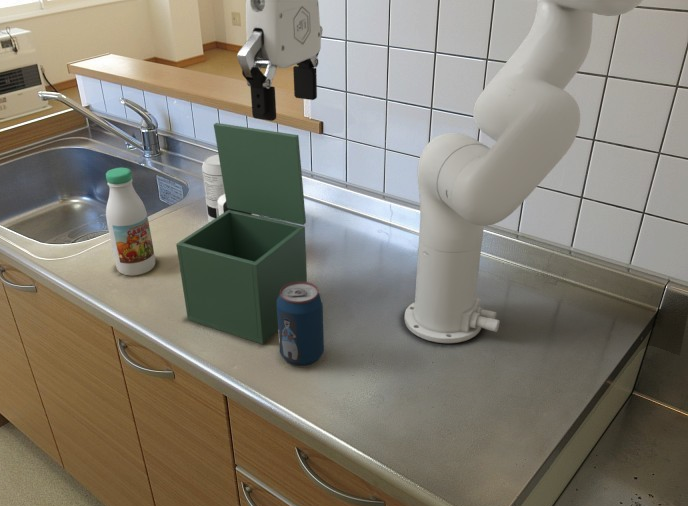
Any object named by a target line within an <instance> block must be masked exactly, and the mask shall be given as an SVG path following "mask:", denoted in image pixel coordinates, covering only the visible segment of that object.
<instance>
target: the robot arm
mask: <svg viewBox="0 0 688 506" xmlns="http://www.w3.org/2000/svg"><path fill="white" fill-rule="evenodd" d="M643 1H644V0H536V10H535V17H534V21H533V24H532V26H531V29H530V30H529V32H528V33H527V35H526V37H524V39H523V41H522V42H521V44H520V45H519V46H518V48H516V50H515V51H514V52H513V53H512V55H510V57H509V58H508V60H507V61H506V62H505V63H504V65H503V66H502V67H501V68H500V69H499V71H498V72H497V73H496V74H495V75H494V77H492V79H491V80H490V81H489V82H488V84H487V85H486V86H485V87H484V89H483V90H482V91H481V93H480V94H479V96H478V97H477V99H476V101H475V103H474V106H473V109H472V115H473V121H474V123H475V124H476V127H477V128H478V129H479V130H480V131H481V132H482V133H483V134H485V136H488V137H489V138H490V139H491V140H493V141H495V142H494V143H493V145H492V146H491V147H489V146H487V145H485V144H484V143H482V142H480V141H478V140H477V139H476V138H473V137H472V136H470V135H468V134H465V133H460V132H445V133H441V134H439V135H437V136H435V137H434V138H432V139H431V140H430V141H429V142H428V143H427V144H426V145H425V147H424V148H423V149H422V151H421V153H420V156H419V159H418V164H417V175H416V177H417V187H418V197H419V198H418V199H419V233H418V234H419V235H418V248H417V263H416V281H415V296H414V302H412V303H410V304H409V305H407V308H406V309H405V310H404V319H403V320H404V325H405V326H406V328H407V329H408V330H409V331H410V332H411V333H412V334H414V335H415V336H416V337H419V338H421V339H423V340H426V341H428V342H433V343H439V344H457V343H461V342H462V343H463V342H466V341H468V340H471V339H472V338H474V337H476V336H477V335H479V333H480V332H481V330H482V329H484V330H487V331H491V332H495V333H497V332H498V330H499V327H500V324H501V323H500V321H501V320H499V319H497V318H496V317H497V312H496V311H492V310H487V309H483V307H481V298H480V297H476V295H477V286H478V280H479V270H480V261H481V253H482V247H483V245H482V244H483V238H484V230H485V229H484V227H486V226H487V227H488V226H493V225H495V224H498V223H501V222H502V221H504V220H505V219H506V218H508V217H510V216H511V215H512V214H513V213H514V212H515V211H516V210H517V209H518V208H519V207H520V206H521V205H522V203H523V202H524V201H526V199H527V198H528V197H529V196H530V195H531V194H532V193H533V192H534V191H535V189H536V188H537V187H538V186H539V185H540V184H541V183H542V182H543V181H544V179H546V177H548V175H549V173H550V172H551V171H552V170H553V169H554V168H555V167H556V166H557V164H558V163H560V161H561V160H562V159H563V158H564V156H565V155H567V153H568V151H569V150H570V149H571V148H572V146H573V144H574V142H575V140H576V137H577V134H578V133H579V128H580V125H581V111H580V107H579V104H578V102H577V101H576V99H575V98H574V96H573V95H571V93H569V92H568V91H566V90H565V88H566V87H567V86H568V85H569V83H570V82H571V81H572V79H573V78H574V77H575V76H576V74H577V73H578V72H579V70H580V69H581V67H582V66H583V64H584V62H585V61H586V58H587V57H588V54H589V52H590V48H591V43H592V37H593V35H592V34H593V19H594V17H593V15H594V14H595V15H599V16H603V17H615V16H621V15H624V14H627V13H629V12H632V10H634V9H635V8H637V7H638V6H639V5H640V4H641V3H642V2H643ZM323 31H324V30H323V27H322V25H321V18H320V6H319V0H245V33H246V41H245V43H244V44H243V46H242V47H241V48H240V50H239V51H238V53H236V54H237V55H236V59H237V62H238V64H239V66H240V69H241V74H242V76H243V78H244V79H245V80H246V85H247V86H248V87H249V89H250V99H251V114H252V117H253V118H254V119H257V120H263V121H270V122H272V121H275V120H276V119H277V103H276V102H277V101H276V87H275V86H273V85H272V83H273V80H274V77H275V75H276V71H277V69H278V68H279V69H287V68H290V67H292V66H293V68H292V69H293V70H292V71H293V90H294V91H293V94H294V95H293V97H294V98H296V99H302V100H309V101H314V100H316V99H317V98H318V86H317V85H318V81H317V68H318V66H319V58H318V56H319V53H320V51H321V45H322V37H323ZM261 69H265V72H264V73H263V72H262V71H261Z"/></svg>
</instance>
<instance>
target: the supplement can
mask: <svg viewBox="0 0 688 506" xmlns="http://www.w3.org/2000/svg"><path fill="white" fill-rule="evenodd" d="M201 170H202V171H201V172H202V181H203V187H204V197H205V204H206V212H207V221H208V223H209V222H211V221H212V220H214V219H215V218H217V217H218V216H219V211H218V202H217V201H218V199H219V197H220V196H222V195H224V194H225V191H224V185H223V179H222V173H221V167H220V161H219V155H218V152H217V153H212V154H210V155H207V156H206V157H204V159H203V163H202V166H201Z"/></svg>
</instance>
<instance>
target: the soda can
mask: <svg viewBox="0 0 688 506" xmlns="http://www.w3.org/2000/svg"><path fill="white" fill-rule="evenodd" d="M277 317H278V330H277V332H278V345H279V346H278V347H279V353H280V356H281V357H282V358H283V359H284V361H285V362H286V363H287V364H288V365H290V366H293V367H297V368H306V367H311V366H313V365H315V364H316V363H317V362H318V361H319V360H320V359H321V357H322V356H323V354H324V351H325V332H324V330H325V329H324V299H323V297H322V295H321V293H320V292H319V288H318V287H317V286H316V285H315V284H314V283H312V282H308V281H307V282H293V283H289V284H287V285H285V286H284V287H282V289H281V290H280V295H279V297H278V299H277Z"/></svg>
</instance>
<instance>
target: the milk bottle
mask: <svg viewBox="0 0 688 506" xmlns="http://www.w3.org/2000/svg"><path fill="white" fill-rule="evenodd" d="M105 179H106V182H107V186H108V187H109V193H108V199H107V202H106V208H105V217H106V218H105V219H106V225H107V230H108V235H109V240H110V245H111V249H112V254H113V259H114V264H115V268H116V270H117V272H119V273H120V274H121V275H124V276H139V275H142V274H145V273H149V272H150V271H151V270H153V268H154V267H155V266H156V256H155V250H154V246H153V239H152V233H151V228H150V227H151V226H150V222H149V217H148V213H147V209H146V206H145V204H144V202H143V201H142V199H141V197H140V196H139V194H138V193H137V191H136V190H135V188H134V186H133V182H134V180H133V173H132V170H131V169H130V168H128V167H115V168H112V169H109V170H107V171H106V172H105Z"/></svg>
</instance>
